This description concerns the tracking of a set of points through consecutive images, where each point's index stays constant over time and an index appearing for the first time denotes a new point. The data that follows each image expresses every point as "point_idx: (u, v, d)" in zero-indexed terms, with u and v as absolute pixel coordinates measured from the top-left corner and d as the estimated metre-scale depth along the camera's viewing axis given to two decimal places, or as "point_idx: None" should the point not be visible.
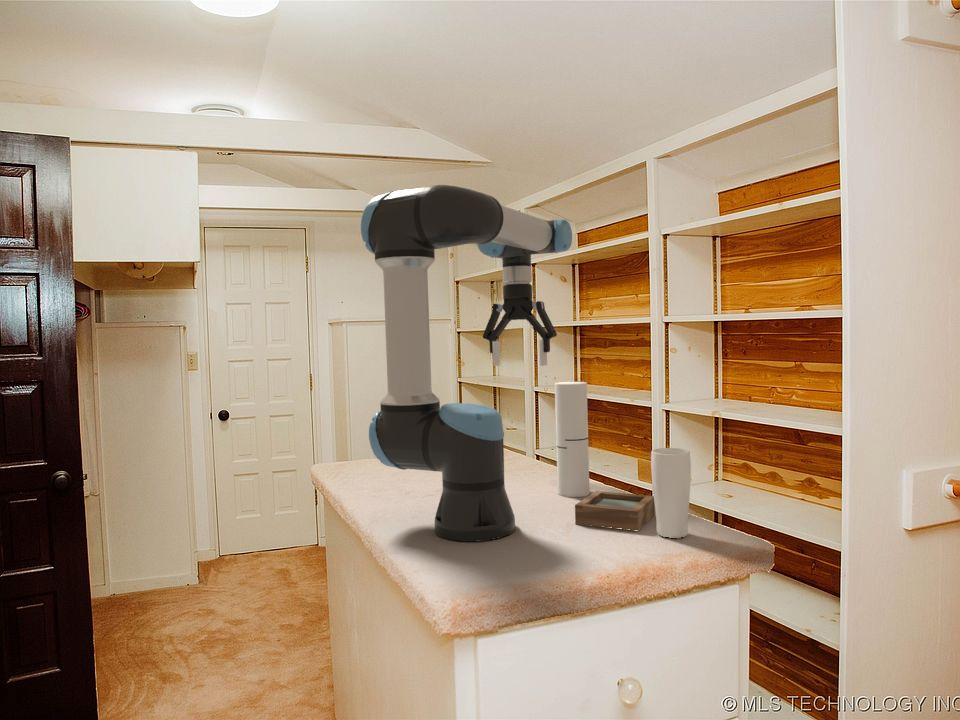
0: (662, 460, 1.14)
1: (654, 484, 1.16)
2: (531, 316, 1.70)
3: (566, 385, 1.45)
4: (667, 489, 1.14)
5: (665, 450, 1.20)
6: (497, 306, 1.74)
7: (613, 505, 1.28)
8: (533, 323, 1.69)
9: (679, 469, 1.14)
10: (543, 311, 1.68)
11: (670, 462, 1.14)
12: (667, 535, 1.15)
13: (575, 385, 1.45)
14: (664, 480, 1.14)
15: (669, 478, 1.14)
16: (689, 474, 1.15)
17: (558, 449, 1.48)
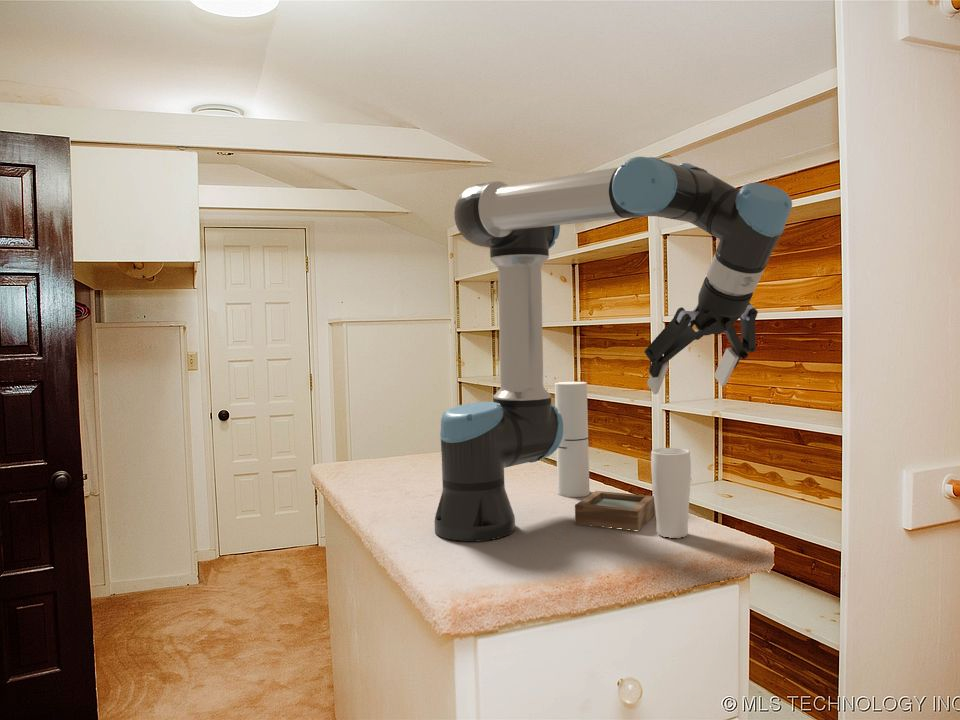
0: (662, 460, 1.14)
1: (654, 484, 1.16)
2: (689, 328, 1.07)
3: (566, 385, 1.45)
4: (667, 489, 1.14)
5: (665, 450, 1.20)
6: None
7: (613, 505, 1.28)
8: None
9: (679, 469, 1.14)
10: (673, 324, 1.05)
11: (670, 462, 1.14)
12: (667, 535, 1.15)
13: (575, 385, 1.45)
14: (664, 480, 1.14)
15: (669, 478, 1.14)
16: (689, 474, 1.15)
17: (558, 449, 1.48)
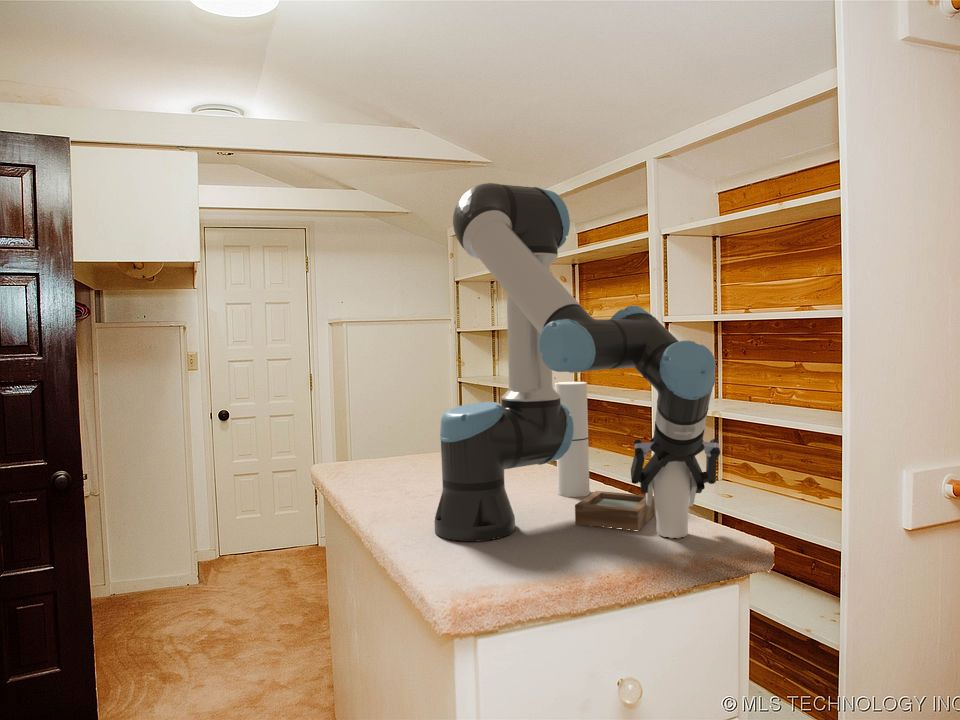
0: None
1: (654, 484, 1.16)
2: (656, 455, 1.11)
3: (566, 385, 1.45)
4: (667, 489, 1.14)
5: None
6: None
7: (613, 505, 1.28)
8: None
9: (679, 469, 1.14)
10: None
11: (670, 462, 1.14)
12: (667, 535, 1.15)
13: (575, 385, 1.45)
14: (664, 480, 1.14)
15: (669, 478, 1.14)
16: (689, 474, 1.15)
17: None
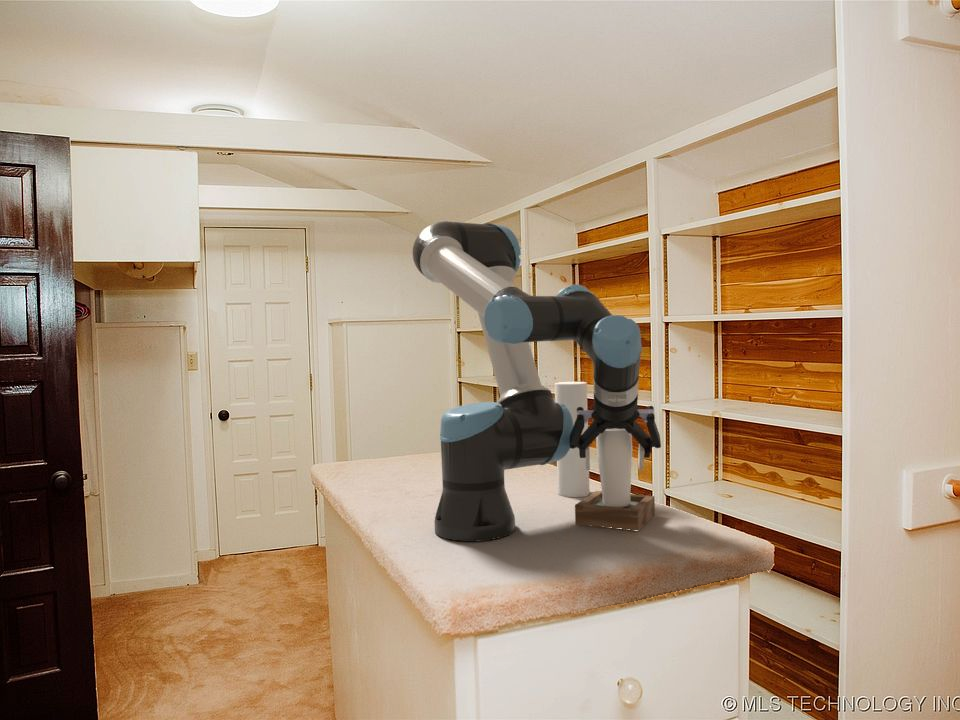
0: (605, 436, 1.25)
1: (599, 458, 1.27)
2: (596, 422, 1.22)
3: (566, 385, 1.45)
4: (610, 462, 1.25)
5: None
6: None
7: None
8: None
9: (620, 444, 1.24)
10: (577, 420, 1.22)
11: (612, 437, 1.24)
12: (611, 505, 1.26)
13: (575, 385, 1.45)
14: (607, 454, 1.25)
15: (611, 452, 1.24)
16: (630, 448, 1.25)
17: None
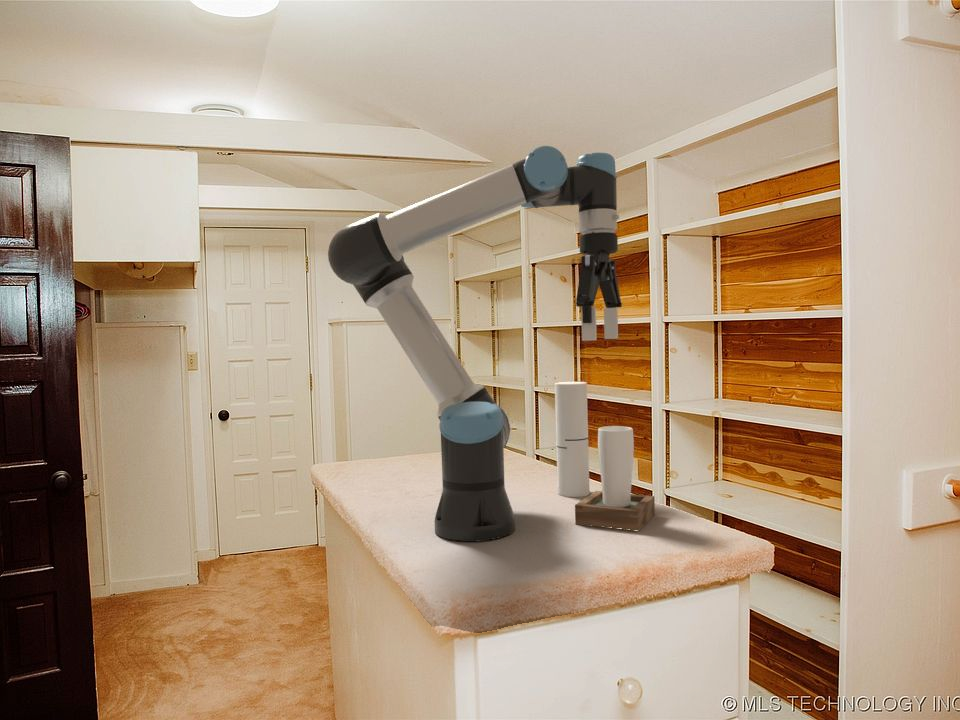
0: (607, 436, 1.25)
1: (600, 458, 1.27)
2: None
3: (566, 385, 1.45)
4: (611, 463, 1.25)
5: (611, 428, 1.30)
6: None
7: None
8: None
9: (622, 444, 1.24)
10: (585, 268, 1.27)
11: (614, 438, 1.24)
12: (611, 505, 1.26)
13: (575, 385, 1.45)
14: (609, 454, 1.25)
15: (613, 452, 1.24)
16: (632, 449, 1.25)
17: (558, 449, 1.48)
